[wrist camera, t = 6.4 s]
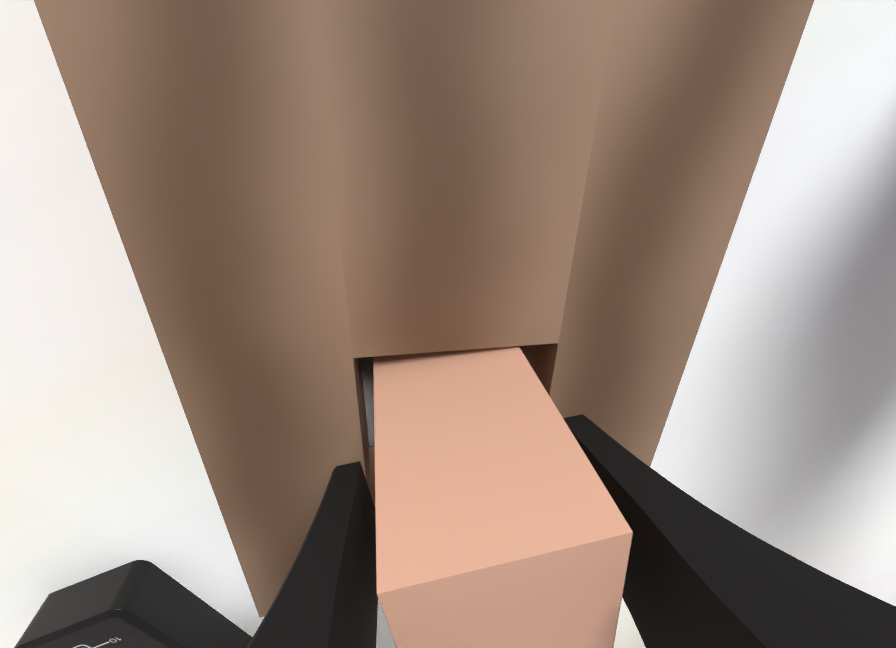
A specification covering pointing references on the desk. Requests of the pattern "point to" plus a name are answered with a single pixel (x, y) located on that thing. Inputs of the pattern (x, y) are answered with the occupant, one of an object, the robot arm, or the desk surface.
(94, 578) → the multiport hub
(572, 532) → the pin
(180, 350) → the pin plate
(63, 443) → the desk surface
